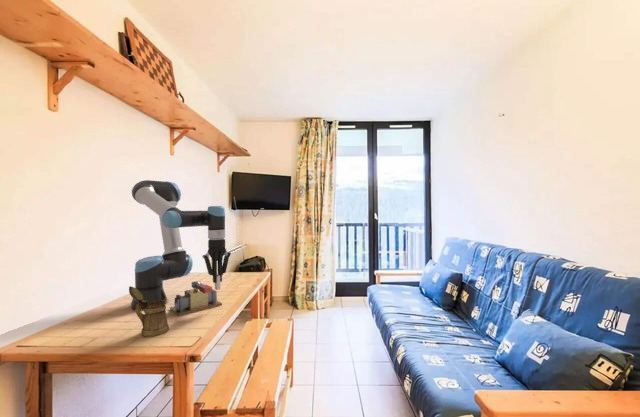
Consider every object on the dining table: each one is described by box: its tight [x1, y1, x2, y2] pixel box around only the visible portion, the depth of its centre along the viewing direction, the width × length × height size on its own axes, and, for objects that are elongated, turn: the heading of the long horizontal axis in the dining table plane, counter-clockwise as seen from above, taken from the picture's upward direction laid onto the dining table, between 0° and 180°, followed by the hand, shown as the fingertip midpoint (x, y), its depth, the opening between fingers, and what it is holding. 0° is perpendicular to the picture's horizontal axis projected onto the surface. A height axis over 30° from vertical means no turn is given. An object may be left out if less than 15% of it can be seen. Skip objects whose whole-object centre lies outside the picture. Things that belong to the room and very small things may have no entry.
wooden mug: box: [128, 286, 170, 338], centre depth 106 cm, size 9×14×18 cm, turn 102°
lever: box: [191, 280, 213, 294], centre depth 128 cm, size 16×4×2 cm, turn 44°
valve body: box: [169, 288, 223, 317], centre depth 132 cm, size 12×20×10 cm, turn 134°
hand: (217, 289), depth 129 cm, fingers closed
